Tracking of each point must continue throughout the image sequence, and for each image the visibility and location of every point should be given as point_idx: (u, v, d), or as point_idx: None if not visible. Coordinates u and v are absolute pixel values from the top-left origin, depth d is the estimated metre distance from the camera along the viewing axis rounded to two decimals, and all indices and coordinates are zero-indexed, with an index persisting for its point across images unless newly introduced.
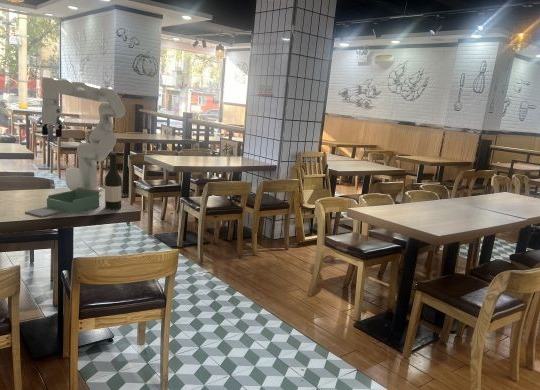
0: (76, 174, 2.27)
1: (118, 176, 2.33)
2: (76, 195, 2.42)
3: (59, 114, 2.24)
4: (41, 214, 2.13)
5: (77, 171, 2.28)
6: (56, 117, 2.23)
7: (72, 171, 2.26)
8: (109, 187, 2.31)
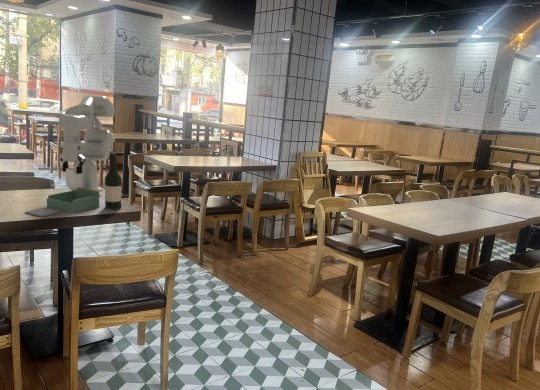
0: (76, 174, 2.27)
1: (118, 176, 2.33)
2: (76, 195, 2.42)
3: (80, 151, 2.25)
4: (41, 214, 2.13)
5: None
6: (77, 154, 2.24)
7: (72, 171, 2.26)
8: (109, 187, 2.32)
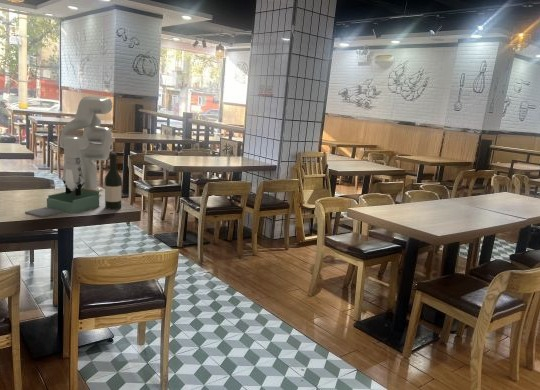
0: None
1: (118, 176, 2.33)
2: None
3: (81, 172, 2.28)
4: (41, 214, 2.13)
5: None
6: (78, 175, 2.26)
7: None
8: (109, 187, 2.31)
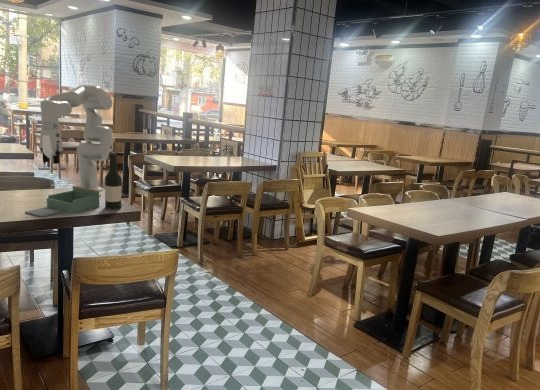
0: None
1: (118, 176, 2.33)
2: (76, 195, 2.42)
3: (59, 138, 2.14)
4: (41, 214, 2.13)
5: None
6: (56, 142, 2.12)
7: None
8: (109, 187, 2.31)
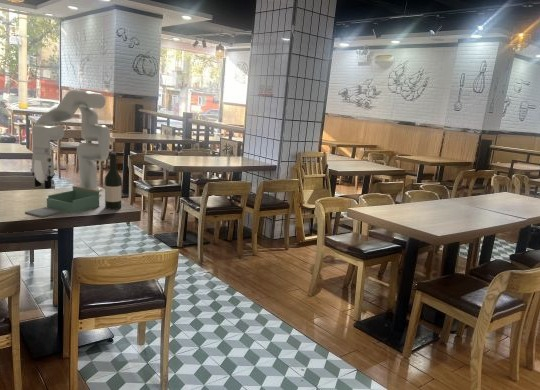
0: None
1: (118, 176, 2.33)
2: (76, 195, 2.42)
3: (50, 163, 2.12)
4: (41, 214, 2.13)
5: None
6: (47, 167, 2.11)
7: None
8: (109, 187, 2.32)
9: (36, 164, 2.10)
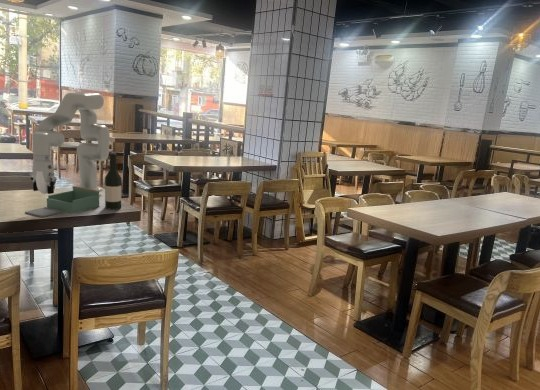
0: None
1: (118, 176, 2.33)
2: (76, 195, 2.42)
3: (51, 170, 2.13)
4: (41, 214, 2.13)
5: None
6: (48, 174, 2.12)
7: None
8: (108, 187, 2.31)
9: (38, 175, 2.12)
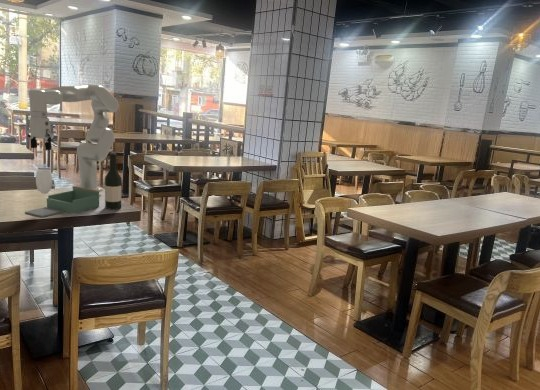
0: (47, 176, 2.13)
1: (118, 176, 2.33)
2: (76, 195, 2.42)
3: (48, 127, 2.19)
4: (41, 214, 2.13)
5: (48, 173, 2.13)
6: (45, 130, 2.18)
7: (42, 173, 2.12)
8: (108, 187, 2.31)
9: (38, 175, 2.12)
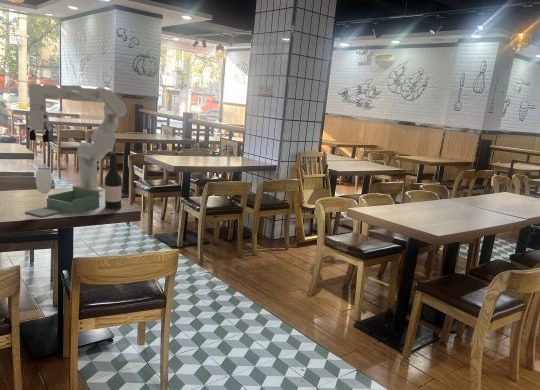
0: (47, 176, 2.13)
1: (118, 176, 2.33)
2: (76, 195, 2.42)
3: (46, 119, 2.27)
4: (41, 214, 2.13)
5: (48, 173, 2.13)
6: (43, 122, 2.26)
7: (42, 173, 2.11)
8: (108, 187, 2.31)
9: (38, 175, 2.12)
